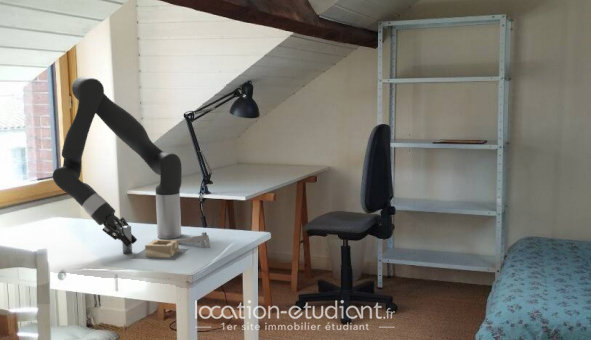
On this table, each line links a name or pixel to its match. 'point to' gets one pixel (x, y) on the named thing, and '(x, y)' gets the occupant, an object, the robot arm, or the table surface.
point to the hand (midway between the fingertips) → (132, 243)
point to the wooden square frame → (161, 248)
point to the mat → (143, 256)
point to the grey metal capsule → (127, 233)
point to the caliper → (197, 240)
